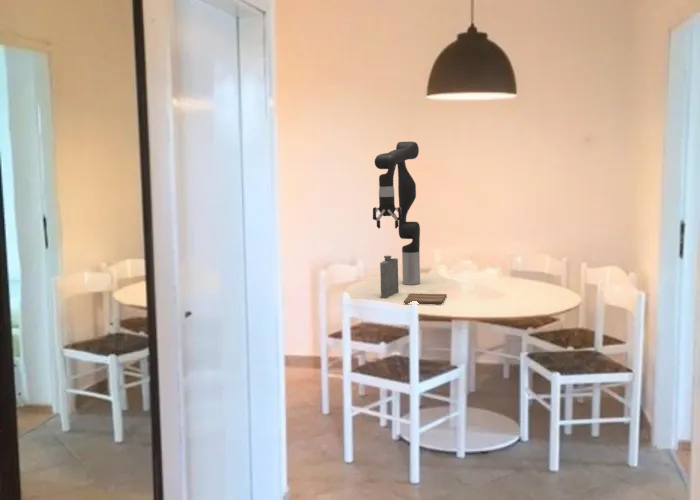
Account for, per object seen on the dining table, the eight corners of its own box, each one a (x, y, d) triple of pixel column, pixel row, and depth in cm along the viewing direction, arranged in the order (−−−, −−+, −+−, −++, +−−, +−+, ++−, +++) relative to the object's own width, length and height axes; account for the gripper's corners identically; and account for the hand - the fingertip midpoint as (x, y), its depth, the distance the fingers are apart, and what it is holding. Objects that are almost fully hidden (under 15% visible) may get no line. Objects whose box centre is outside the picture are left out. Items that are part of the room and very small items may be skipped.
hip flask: (385, 298, 391) (384, 258, 388) (378, 298, 393) (377, 258, 390) (399, 292, 405) (398, 253, 402) (392, 291, 407) (391, 253, 404)
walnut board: (410, 296, 395) (410, 293, 394) (446, 297, 390) (446, 294, 390) (403, 304, 377) (403, 301, 377) (441, 305, 373) (441, 301, 373)
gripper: (402, 194, 393) (403, 227, 396) (374, 195, 397) (375, 227, 399) (399, 196, 386) (400, 229, 389) (370, 196, 390) (371, 229, 392)
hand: (387, 228), depth 394 cm, fingers open, 8 cm apart
